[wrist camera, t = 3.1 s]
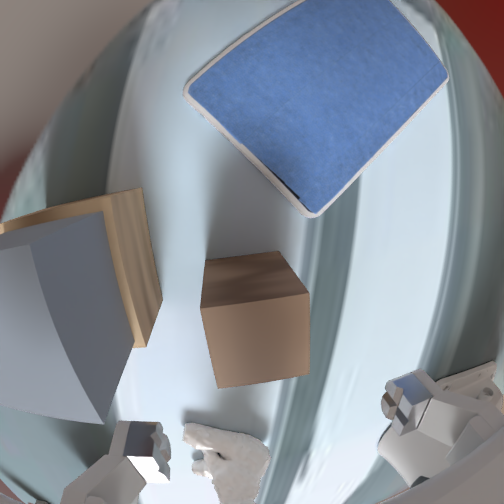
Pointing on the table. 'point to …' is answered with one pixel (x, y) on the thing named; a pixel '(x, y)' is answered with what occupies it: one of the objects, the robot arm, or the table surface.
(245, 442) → the seated beast figurine
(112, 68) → the table surface
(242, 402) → the table surface
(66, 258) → the slate block
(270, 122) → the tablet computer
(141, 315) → the oak block
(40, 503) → the skincare box
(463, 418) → the robot arm
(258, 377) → the walnut block
